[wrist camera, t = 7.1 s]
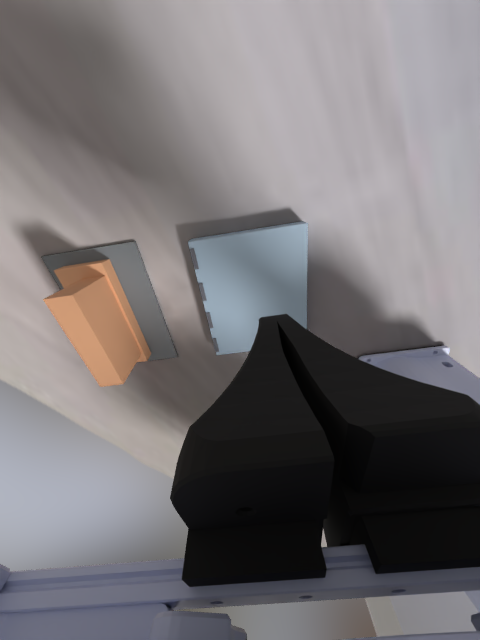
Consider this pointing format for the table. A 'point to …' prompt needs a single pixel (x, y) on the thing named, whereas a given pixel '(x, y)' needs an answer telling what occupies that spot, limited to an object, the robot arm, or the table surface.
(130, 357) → the stub
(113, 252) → the pad
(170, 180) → the table surface
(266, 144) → the table surface
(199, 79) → the table surface
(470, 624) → the tall white rectangular box
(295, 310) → the light blue notched panel
